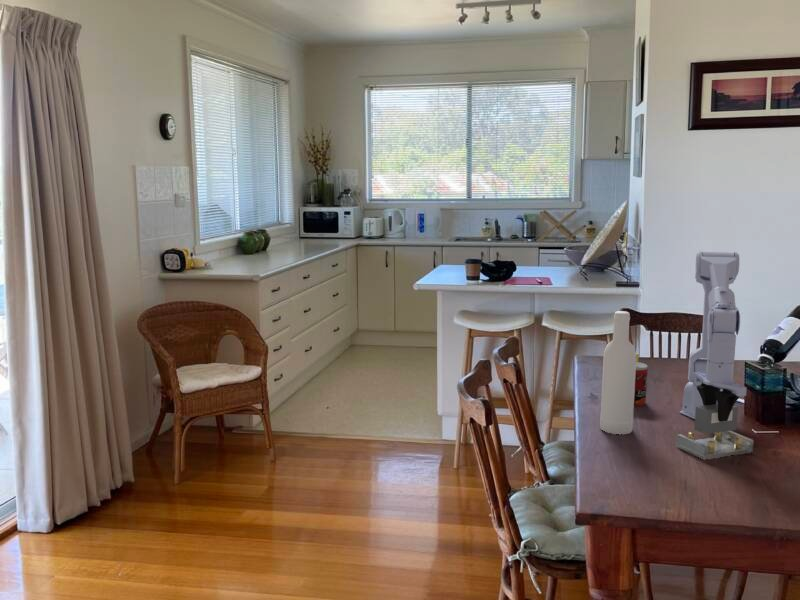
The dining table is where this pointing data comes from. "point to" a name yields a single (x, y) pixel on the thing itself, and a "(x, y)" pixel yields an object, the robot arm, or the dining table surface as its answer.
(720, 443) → the pin tray
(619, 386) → the bottle
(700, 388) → the robot arm
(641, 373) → the canned food
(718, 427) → the block
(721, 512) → the dining table surface
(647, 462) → the dining table surface
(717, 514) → the dining table surface
